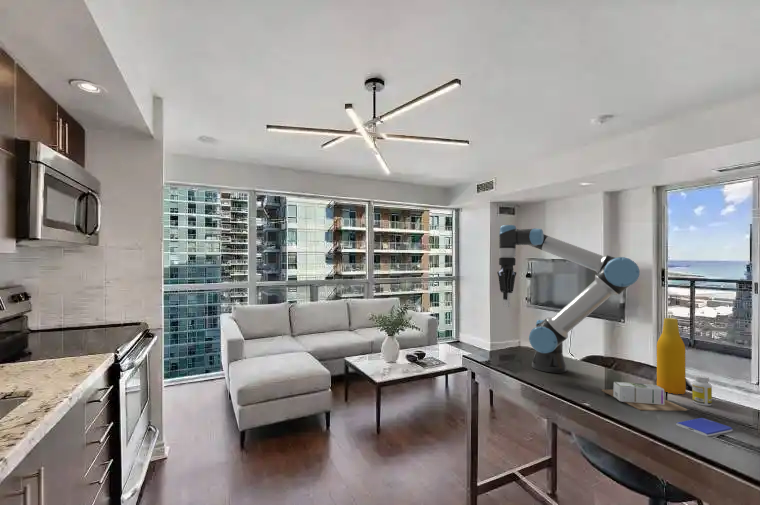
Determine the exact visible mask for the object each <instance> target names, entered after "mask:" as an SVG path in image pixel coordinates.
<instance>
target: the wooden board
mask: <svg viewBox="0 0 760 505" xmlns="http://www.w3.org/2000/svg"><path fill="white" fill-rule="evenodd" d="M601 392H603V393H604V394H607V395H609V396H611V397H613V398H615V397H614V396H613V389H601ZM624 404H628V406H631V407H632V408H635V409H637V410H638V411H676V412H678V411H685V412H686V411H688V409H687V408H685V407H683V406H681V405H678V404H676V403H675V402H674V403H673V402H671V401H669V400H667V399H665V404H664V405H658V404H645V403H632V402H624Z"/></svg>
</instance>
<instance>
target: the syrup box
mask: <svg viewBox="0 0 760 505" xmlns="http://www.w3.org/2000/svg"><path fill="white" fill-rule="evenodd" d="M612 388H613V389H612V390H613V396H614V397H613V396H612V397H613V398H615V399H616V400H618V401H619V402H623V403H625V402H632V403H645V404H658V405H664V404H665V400H666V392H665V391H664V389H663V388H661V387H659V386H657V384H652V383H651V384H648V383H637V382H628V381H627V382H625V381H624V382H623V381H613V387H612Z"/></svg>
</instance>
